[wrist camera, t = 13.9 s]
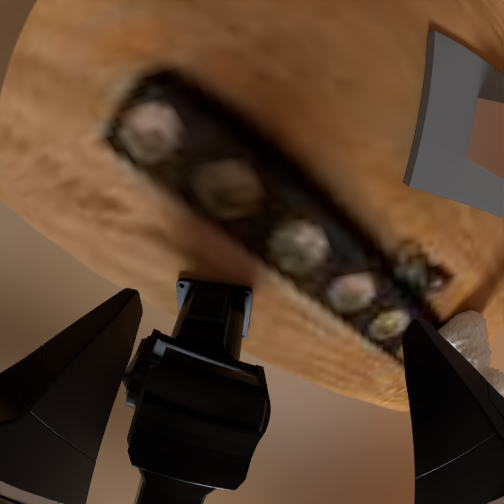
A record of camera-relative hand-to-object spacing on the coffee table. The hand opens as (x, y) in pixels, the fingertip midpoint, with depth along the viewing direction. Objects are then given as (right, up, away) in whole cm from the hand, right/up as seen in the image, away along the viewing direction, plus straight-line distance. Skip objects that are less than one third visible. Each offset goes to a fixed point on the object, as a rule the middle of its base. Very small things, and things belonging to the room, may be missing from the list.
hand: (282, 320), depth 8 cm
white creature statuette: (+23, -7, +17) cm, 30 cm away
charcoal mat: (+17, +11, +6) cm, 22 cm away
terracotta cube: (+17, +11, +5) cm, 21 cm away
